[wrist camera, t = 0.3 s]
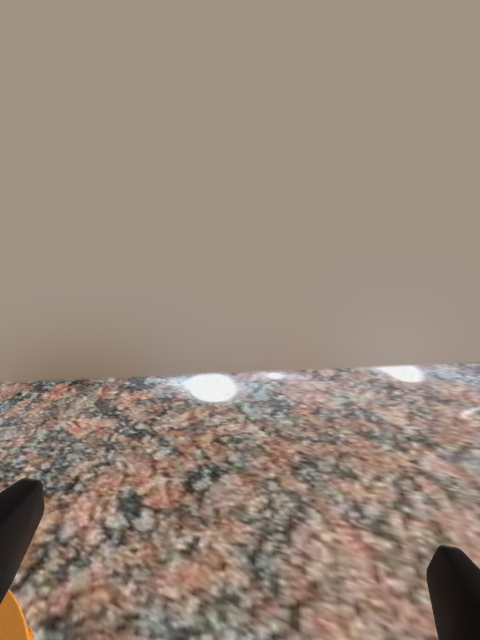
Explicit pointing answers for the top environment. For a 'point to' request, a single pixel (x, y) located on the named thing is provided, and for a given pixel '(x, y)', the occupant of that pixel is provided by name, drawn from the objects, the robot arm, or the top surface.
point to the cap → (13, 620)
